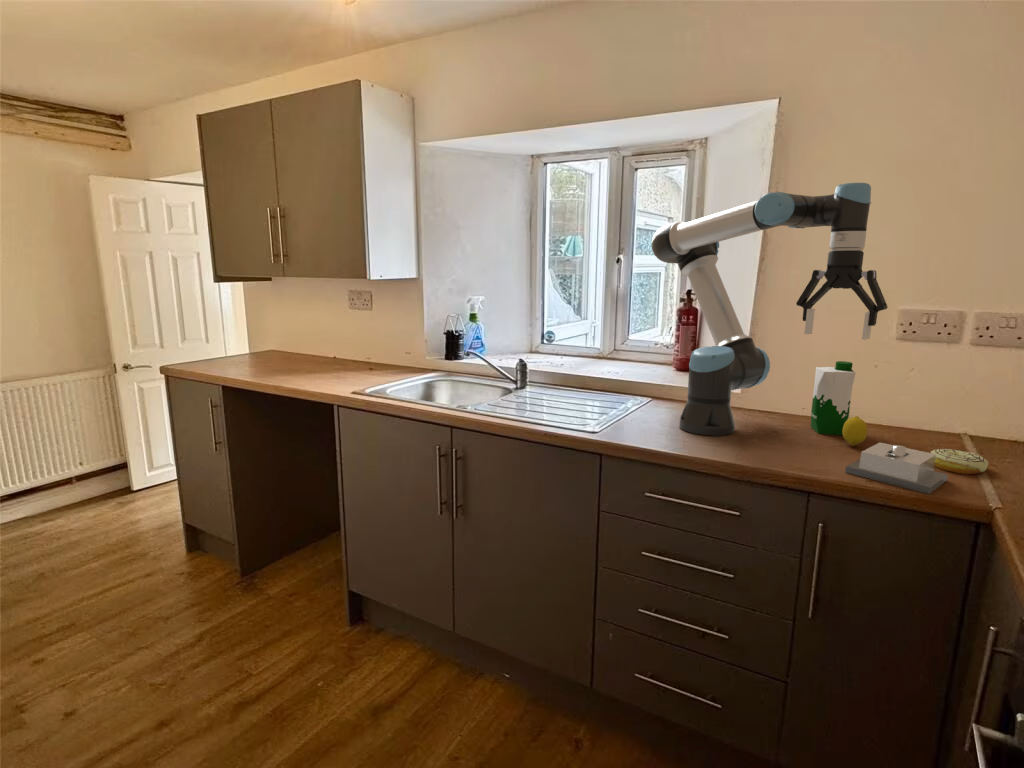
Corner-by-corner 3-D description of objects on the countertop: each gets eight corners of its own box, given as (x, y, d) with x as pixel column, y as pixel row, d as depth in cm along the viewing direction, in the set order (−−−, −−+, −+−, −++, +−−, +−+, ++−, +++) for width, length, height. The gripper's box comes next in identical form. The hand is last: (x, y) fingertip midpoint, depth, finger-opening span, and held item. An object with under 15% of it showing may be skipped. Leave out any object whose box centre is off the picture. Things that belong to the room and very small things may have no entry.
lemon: (842, 441, 152) (846, 412, 150) (866, 445, 148) (870, 415, 146) (838, 446, 147) (842, 416, 146) (863, 450, 144) (867, 420, 142)
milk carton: (850, 436, 156) (859, 365, 152) (815, 434, 158) (823, 364, 154) (839, 427, 164) (847, 360, 160) (805, 426, 166) (813, 359, 162)
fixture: (845, 472, 128) (849, 443, 127) (866, 461, 136) (869, 433, 134) (929, 494, 116) (934, 461, 115) (946, 480, 123) (951, 450, 122)
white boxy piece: (877, 458, 133) (879, 442, 132) (933, 471, 125) (936, 454, 124) (859, 468, 126) (861, 451, 126) (916, 483, 118) (919, 465, 117)
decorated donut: (995, 479, 125) (998, 463, 124) (938, 473, 128) (940, 457, 128) (974, 464, 135) (977, 448, 134) (922, 459, 138) (924, 444, 137)
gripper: (787, 250, 145) (779, 333, 149) (899, 248, 126) (886, 342, 130) (801, 251, 150) (793, 331, 154) (911, 249, 131) (898, 340, 135)
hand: (835, 336), depth 142 cm, fingers open, 13 cm apart
